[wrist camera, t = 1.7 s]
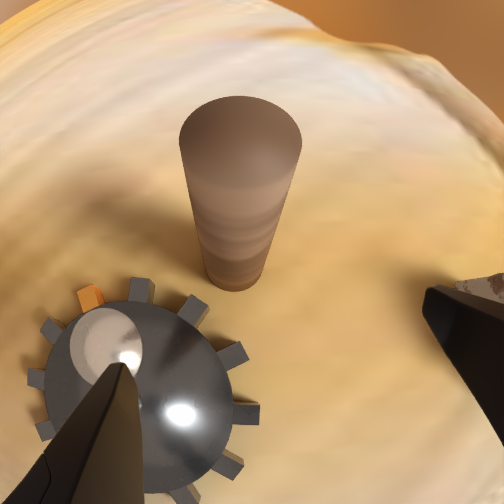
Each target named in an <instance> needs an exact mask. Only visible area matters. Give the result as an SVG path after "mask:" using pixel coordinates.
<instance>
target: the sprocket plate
mask: <svg viewBox="0 0 504 504" xmlns="http://www.w3.org/2000/svg"><path fill="white" fill-rule="evenodd" d="M154 288H155V284H154V283H153V282H152V281H151V280H150V279H146V278H135V277H131V282H130V289H129V296H128V301H118V302H111V303H106V304H105V302H104V299H103V296H102V293H101V290H100V289H99V288H97V287H96V286H94V285H93V284H91V285H89V286H87V287H85V288H83V289H81V290H79V291H77V294H78V298H79V301H80V304H81V307H82V310H83V314H81V315H80V316H78V317H77V318H76V319H74V320H73V321H72V322H71V323H70V324H69V325H68V326H67V327H65V326H64V325H63V324H62V323H61V322H60V321H59V320H56V319H53V318H50V317H48V319H47V320H46V322H45V323H44V325H43V327H42V328H41V330H40V332H41V333H42V334H43V335H44V336H45V337H46V338H47V340H48V341H49V342H50V343H51V344H52V345H53V348H52V350H51V353H50V355H49V358H48V361H47V365H46V370H43V369H39V368H28V382H27V385H29V386H31V387H34V388H38V389H41V390H44V395H45V403H46V408H47V412H48V416H49V419H50V420H48V421H45V422H42V423H39V424H36V425H35V426H36V429H37V431H38V433H39V435H40V438H41V440H42V442H43V441H46V440H50V439H53V438H54V436H55V435H56V434H57V432H58V431H59V430H60V428H61V427H62V425H63V424H64V423H65V421H66V420H67V419H68V417H69V416H70V415H71V413H72V412H73V411H74V409H75V408H76V407H77V405H78V404H79V403H80V402H81V400H82V399H83V398H84V396H85V395H86V394H87V392H88V391H89V390H90V389H91V387H92V386H93V385H94V383H95V382H96V381H97V379H98V378H99V377H100V376H101V374H102V373H103V372H104V371H105V369H106V368H107V367H108V365H109V364H111V363H116V362H125V363H126V365H127V366H128V368H129V370H130V372H131V374H132V376H133V378H134V380H135V382H136V384H137V389H138V400H139V410H140V420H141V429H142V442H143V485H144V493H152V494H154V493H163V492H169V493H170V495H171V496H172V498H173V499H174V501H175V502H176V503H177V504H199V501H200V497H201V496H200V494H199V493H198V491H197V490H196V488H195V487H194V485H193V484H192V483H193V482H194V481H196V480H198V479H199V478H200V477H202V476H203V475H204V474H205V473H206V472H208V471H209V470H210V469H212V470H214V471H216V472H218V473H219V474H221V475H223V476H225V477H227V478H229V479H230V480H232V481H233V480H234V479H235V477H236V476H237V475H238V473H239V472H240V471H241V470H242V468H243V467H244V461H243V459H242V458H240V457H238V456H236V455H235V454H233V453H231V452H229V451H228V450H226V449H225V447H226V444H227V442H228V440H229V436H230V433H231V429H232V424H238V425H259V415H260V405H259V403H258V402H237V401H233V395H232V389H231V384H230V381H229V377H228V374H227V371H228V370H230V369H232V368H234V367H236V366H238V365H240V364H242V363H244V362H246V361H248V360H249V358H248V356H247V354H246V352H245V350H244V348H243V346H242V344H241V342H240V341H239V342H237V343H234V344H232V345H230V346H228V347H226V348H224V349H222V350H220V351H218V352H216V350H215V349H214V348H213V347H212V345H211V344H210V343H209V341H208V340H207V339H206V338H205V337H204V336H203V335H202V334H201V333H200V332H199V331H198V330H197V327H198V326H199V325H200V323H201V322H202V320H203V319H204V317H205V316H206V314H207V313H208V312H209V310H210V309H209V306H208V305H207V304H205V303H204V302H202V301H201V300H199V299H198V298H196V297H195V296H193V295H192V294H191V295H190V296H189V298H188V299H187V301H186V302H185V303H184V305H183V306H182V308H181V309H180V310H179V312H178V313H177V314H175V313H173V312H171V311H169V310H167V309H164V308H162V307H159V306H156V305H153V296H154Z"/></svg>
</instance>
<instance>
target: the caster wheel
mask: <svg viewBox="0 0 504 504" xmlns="http://www.w3.org/2000/svg"><path fill="white" fill-rule="evenodd" d="M455 287H456V290H460V291H463V292H466V293H470V294H473V295H477V296H480V297H483V298H487V299H490V300H493V301H497V302H500V303H503V304H504V273H499V274H495V275H492V276H490V277H484V278H477V279H470V280H464V281H458V282H456V283H455Z"/></svg>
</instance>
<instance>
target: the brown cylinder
mask: <svg viewBox="0 0 504 504" xmlns="http://www.w3.org/2000/svg"><path fill="white" fill-rule="evenodd" d="M179 146H180V151H181V156H182V162H183V167H184V172H185V177H186V182H187V187H188V192H189V196H190V201H191V206H192V211H193V215H194V220H195V224H196V229H197V233H198V238H199V242H200V247H201V251H202V255H203V260H204V264H205V268H206V272H207V275H208V277H209V278H210V280H211V281H212V282H213V283H214V284H215V285H216V286H217V287H219V288H221V289H223V290H226V291H231V292H237V291H243V290H245V289H248V288H250V287H251V286H252V285H254V284H255V283H256V282H257V280H258V279H259V277H260V276H261V273H262V270H263V267H264V264H265V261H266V258H267V255H268V252H269V249H270V246H271V243H272V240H273V237H274V234H275V231H276V228H277V224H278V221H279V218H280V215H281V212H282V209H283V206H284V203H285V200H286V197H287V193H288V190H289V187H290V184H291V181H292V178H293V175H294V172H295V168H296V165H297V162H298V159H299V156H300V153H301V148H302V138H301V133H300V130H299V128H298V126H297V124H296V123H295V121H294V120H293V118H292V117H291V116H290V115H289V114H288V113H287V112H285V111H284V110H283V109H281V108H280V107H278V106H277V105H275V104H273V103H271V102H268V101H266V100H262V99H259V98H254V97H248V96H230V97H224V98H219V99H216V100H213V101H210V102H208V103H206V104H204V105H202V106H200V107H199V108H197V109H196V110H195V111H194V112H192V113H191V115H190V116H189V117H188V118H187V119H186V121H185V122H184V124H183V126H182V128H181V131H180V136H179Z"/></svg>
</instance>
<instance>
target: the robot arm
mask: <svg viewBox="0 0 504 504" xmlns="http://www.w3.org/2000/svg"><path fill="white" fill-rule="evenodd" d="M422 314H423V316H424V318H425V320H426V321H427V323H428V325H429V326H430V328H431V330H432V332H433V333H434V335H435V337H436V338H437V340H438V342H439V344H440V346H441V347H442V349H443V351H444V352H445V354H446V355H447V357H448V358H449V360H450V361H451V362H452V364H453V365H454V367H455V368H456V370H457V371H458V373H459V374H460V376H461V377H462V379H463V380H464V382H465V383H466V385H467V386H468V388H469V390H470V391H471V393H472V394H473V396H474V397H475V399H476V401H477V402H478V404H479V405H480V407H481V409H482V410H483V412H484V413H485V415H486V417H487V418H488V420H489V422H490V423H491V425H492V427H493V429H494V430H495V432H496V434H497V436H498V437H499V439H500V441H501V442H502V445H503V447H504V304H503V303H500V302H497V301H493V300H490V299H487V298H483V297H480V296H477V295H473V294H470V293H466V292H463V291H460V290H456V289H453V288H450V287H446V286H443V285H439V284H436V285H433V286H430V287H428V288H427V289H426V292H425V297H424V301H423V306H422ZM2 504H144V485H143V442H142V429H141V420H140V410H139V400H138V389H137V384H136V382H135V380H134V378H133V376H132V374H131V372H130V370H129V368H128V366H127V365H126V363H125V362H116V363H111V364H109V365H108V367H107V368H106V369H105V371H104V372H103V373H102V374H101V376H100V377H99V378H98V379H97V381H96V382H95V383H94V385H93V386H92V387H91V389H90V390H89V391H88V392H87V394H86V395H85V396H84V398H83V399H82V400H81V402H80V403H79V404H78V405H77V407H76V408H75V409H74V411H73V412H72V413H71V415H70V416H69V417H68V419H67V420H66V421H65V423H64V424H63V425H62V427H61V428H60V430H59V431H58V432H57V434H56V435H55V436H54V438H53V439H52V440H51V442H50V443H49V445H48V446H47V447H46V449H45V450H44V454H43V453H42V454H41V455H40V457H39V458H38V460H37V461H36V462H35V464H34V465H33V467H32V468H31V469H30V471H29V472H28V473H27V475H26V476H25V477H24V478H23V480H22V481H21V482H20V483H19V484H18V486H17V487H16V488H15V489H14V490H13V492H12V493H11V494H10V495H9V496H8V497H7V498H6V500H5V501H4V502H3V503H2Z"/></svg>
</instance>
